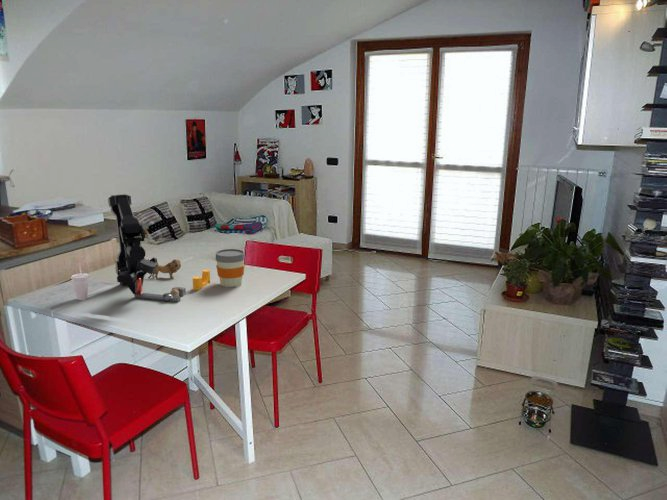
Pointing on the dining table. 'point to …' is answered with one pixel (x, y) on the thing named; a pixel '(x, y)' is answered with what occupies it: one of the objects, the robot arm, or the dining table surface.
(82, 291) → the smoothie
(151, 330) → the dining table surface
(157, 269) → the lion figurine
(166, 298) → the lever
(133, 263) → the robot arm
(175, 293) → the tan rounded piece
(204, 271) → the pipe clamp
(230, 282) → the reusable coffee cup
